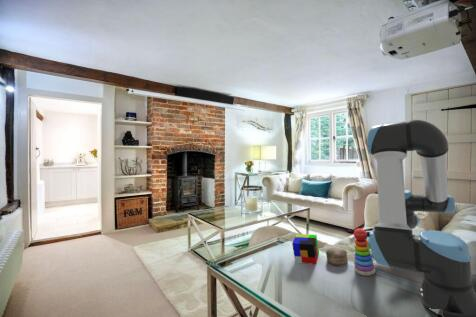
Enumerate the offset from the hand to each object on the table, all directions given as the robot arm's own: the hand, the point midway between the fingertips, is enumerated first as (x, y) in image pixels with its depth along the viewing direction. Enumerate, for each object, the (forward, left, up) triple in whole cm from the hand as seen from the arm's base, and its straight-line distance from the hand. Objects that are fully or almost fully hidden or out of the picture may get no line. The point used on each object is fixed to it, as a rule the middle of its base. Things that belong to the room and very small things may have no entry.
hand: (364, 245), depth 101 cm
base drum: (+11, +7, -10) cm, 17 cm away
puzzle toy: (+20, +17, -11) cm, 29 cm away
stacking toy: (-1, +2, -11) cm, 11 cm away
